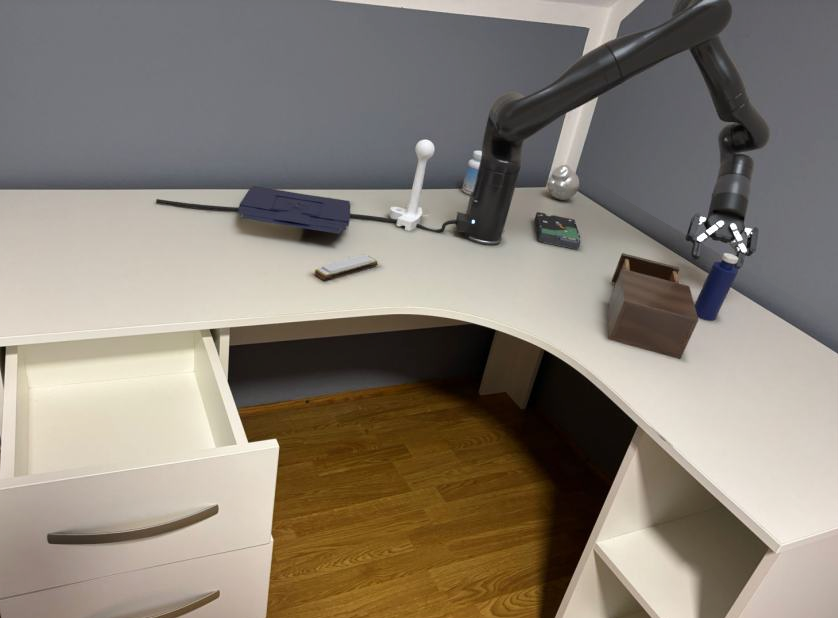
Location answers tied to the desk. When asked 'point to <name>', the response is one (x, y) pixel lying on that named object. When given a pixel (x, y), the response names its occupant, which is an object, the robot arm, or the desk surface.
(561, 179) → the silver rounded lump
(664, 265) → the drawer
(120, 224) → the desk surface
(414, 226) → the joystick
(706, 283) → the bottle
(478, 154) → the pill bottle
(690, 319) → the cabinet
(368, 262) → the harmonica
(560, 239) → the disk drive
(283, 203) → the laptop stand
